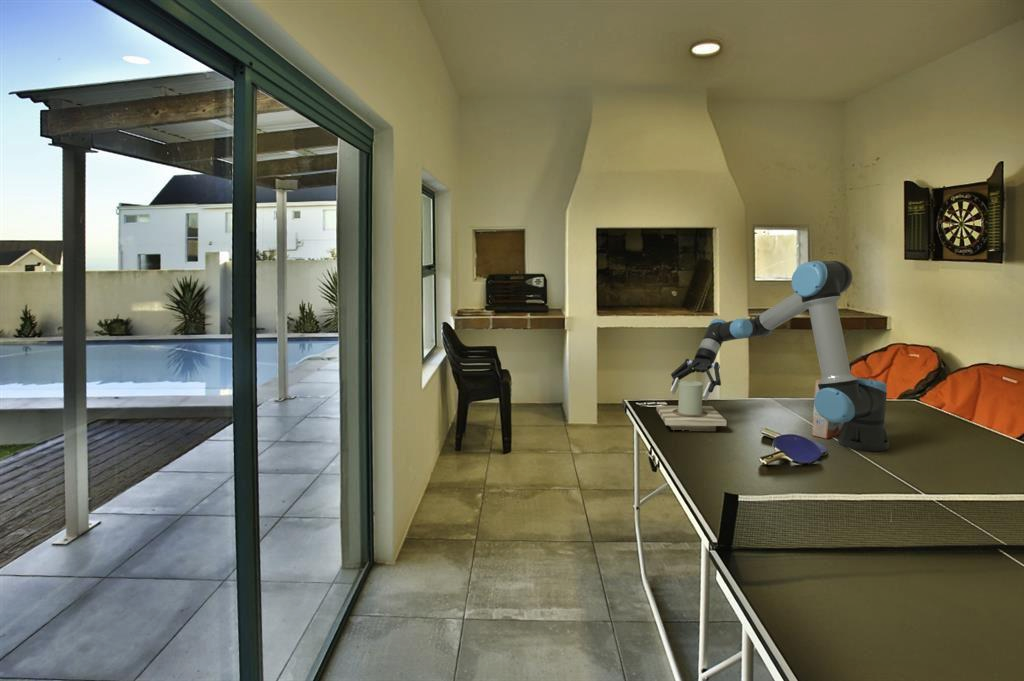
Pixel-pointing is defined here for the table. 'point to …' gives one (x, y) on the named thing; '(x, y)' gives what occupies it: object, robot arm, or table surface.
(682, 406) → the can
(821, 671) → the table surface
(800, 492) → the table surface
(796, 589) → the table surface
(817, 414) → the cracker box
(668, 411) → the stand
